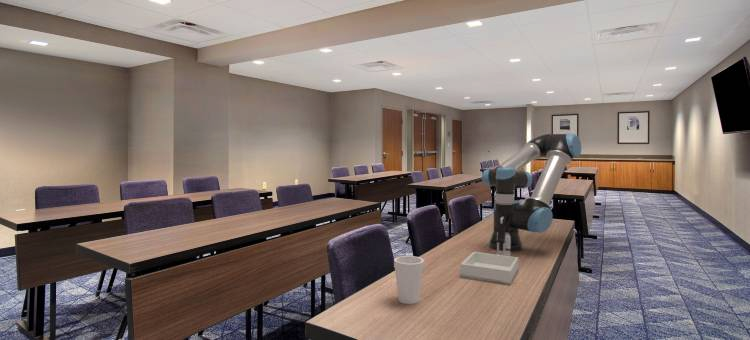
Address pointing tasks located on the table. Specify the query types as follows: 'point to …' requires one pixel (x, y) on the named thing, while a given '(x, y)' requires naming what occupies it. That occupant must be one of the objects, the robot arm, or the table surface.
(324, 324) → the table surface
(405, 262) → the foam cup
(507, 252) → the ink box
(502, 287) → the table surface
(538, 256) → the table surface
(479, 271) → the tray
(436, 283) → the table surface
